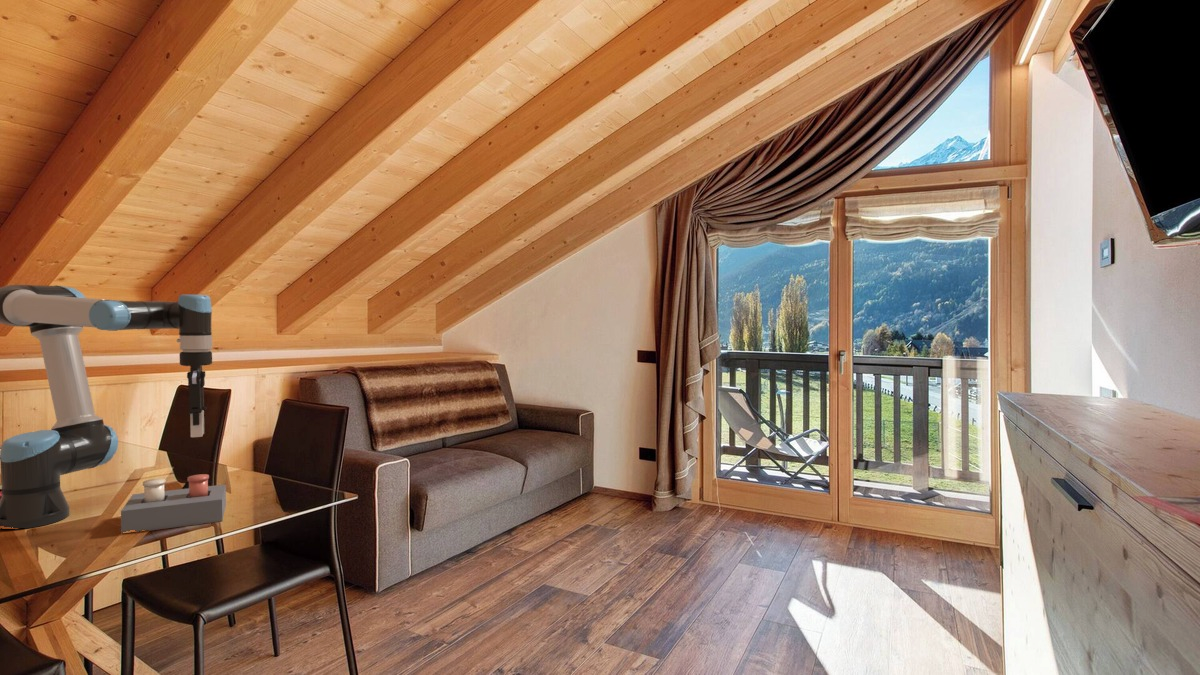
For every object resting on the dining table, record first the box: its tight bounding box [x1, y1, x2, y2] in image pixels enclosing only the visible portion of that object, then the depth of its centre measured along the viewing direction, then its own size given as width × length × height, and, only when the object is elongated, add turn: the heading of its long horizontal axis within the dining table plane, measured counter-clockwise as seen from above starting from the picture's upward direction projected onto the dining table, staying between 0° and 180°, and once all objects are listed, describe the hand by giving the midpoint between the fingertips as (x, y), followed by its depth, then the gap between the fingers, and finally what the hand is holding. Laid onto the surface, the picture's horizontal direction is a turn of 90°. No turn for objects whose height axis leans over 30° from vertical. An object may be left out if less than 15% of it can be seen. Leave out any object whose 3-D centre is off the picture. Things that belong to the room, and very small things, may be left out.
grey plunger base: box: [120, 484, 227, 533], centre depth 170 cm, size 16×22×6 cm
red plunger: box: [187, 473, 210, 498], centre depth 172 cm, size 5×5×7 cm
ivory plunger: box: [142, 478, 167, 503], centre depth 167 cm, size 5×5×7 cm
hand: (197, 435), depth 171 cm, fingers open, 4 cm apart
